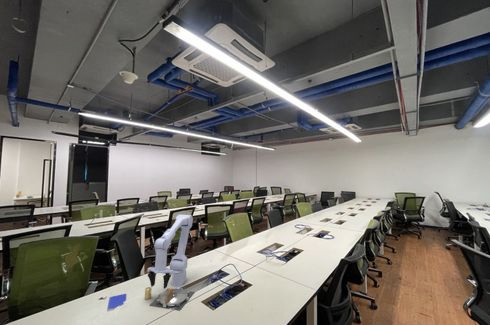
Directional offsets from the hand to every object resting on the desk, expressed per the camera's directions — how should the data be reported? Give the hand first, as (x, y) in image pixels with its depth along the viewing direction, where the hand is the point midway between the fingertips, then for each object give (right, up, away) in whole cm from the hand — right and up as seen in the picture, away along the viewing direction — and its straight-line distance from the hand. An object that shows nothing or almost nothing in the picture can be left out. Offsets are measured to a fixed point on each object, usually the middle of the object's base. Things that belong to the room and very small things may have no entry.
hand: (159, 286), depth 110 cm
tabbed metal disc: (+7, -8, +2) cm, 11 cm away
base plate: (+7, -9, +2) cm, 12 cm away
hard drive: (-22, -9, -1) cm, 24 cm away
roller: (-7, -9, +2) cm, 12 cm away
